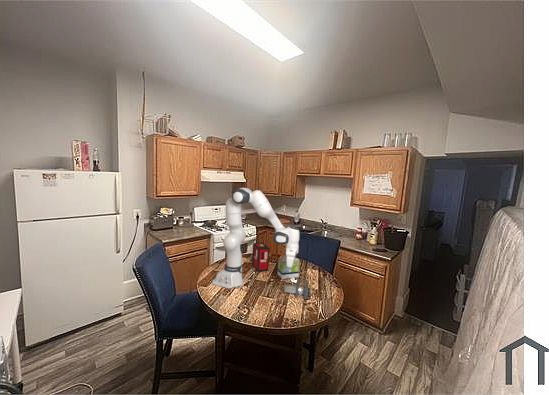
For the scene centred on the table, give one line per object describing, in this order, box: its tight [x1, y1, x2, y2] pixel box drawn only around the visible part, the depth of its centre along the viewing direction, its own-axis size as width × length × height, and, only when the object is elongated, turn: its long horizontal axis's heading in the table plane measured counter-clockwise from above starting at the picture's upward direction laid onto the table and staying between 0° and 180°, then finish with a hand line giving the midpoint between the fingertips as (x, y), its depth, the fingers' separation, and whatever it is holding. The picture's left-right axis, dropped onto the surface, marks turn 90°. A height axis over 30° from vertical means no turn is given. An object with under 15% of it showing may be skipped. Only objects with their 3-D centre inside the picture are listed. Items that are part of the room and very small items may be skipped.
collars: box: [294, 279, 313, 299], centre depth 156 cm, size 11×10×9 cm
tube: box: [283, 284, 312, 297], centre depth 156 cm, size 18×5×5 cm, turn 79°
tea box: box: [276, 256, 301, 280], centre depth 182 cm, size 15×10×15 cm
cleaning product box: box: [251, 241, 270, 273], centre depth 195 cm, size 16×9×20 cm, turn 25°
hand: (290, 268), depth 156 cm, fingers open, 8 cm apart
